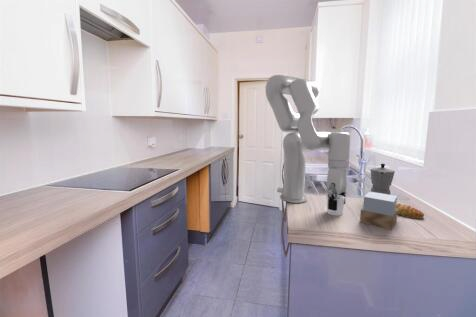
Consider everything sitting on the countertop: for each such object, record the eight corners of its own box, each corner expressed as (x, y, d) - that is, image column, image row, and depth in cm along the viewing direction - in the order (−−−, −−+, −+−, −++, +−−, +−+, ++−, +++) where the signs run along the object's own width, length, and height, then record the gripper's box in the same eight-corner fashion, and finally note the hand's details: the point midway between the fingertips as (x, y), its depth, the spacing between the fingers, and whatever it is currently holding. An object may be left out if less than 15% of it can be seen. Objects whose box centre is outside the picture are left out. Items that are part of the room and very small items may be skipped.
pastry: (425, 217, 92) (426, 207, 92) (420, 221, 88) (421, 211, 87) (397, 210, 99) (398, 201, 99) (391, 214, 95) (392, 205, 95)
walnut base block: (359, 222, 87) (360, 209, 86) (366, 215, 94) (367, 202, 94) (392, 230, 80) (393, 216, 80) (396, 221, 88) (397, 208, 87)
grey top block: (363, 210, 86) (364, 196, 85) (368, 203, 92) (369, 191, 92) (392, 216, 80) (393, 201, 79) (395, 209, 87) (397, 195, 86)
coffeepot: (391, 208, 101) (396, 166, 99) (366, 204, 106) (370, 164, 103) (391, 199, 114) (394, 161, 112) (368, 195, 119) (372, 160, 116)
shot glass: (328, 208, 100) (329, 192, 99) (346, 212, 96) (347, 195, 95) (323, 213, 95) (324, 196, 94) (340, 217, 91) (342, 199, 90)
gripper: (336, 161, 101) (334, 200, 103) (320, 165, 89) (318, 210, 91) (355, 162, 97) (353, 203, 99) (340, 167, 84) (339, 214, 86)
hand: (336, 206), depth 95 cm, fingers open, 9 cm apart
